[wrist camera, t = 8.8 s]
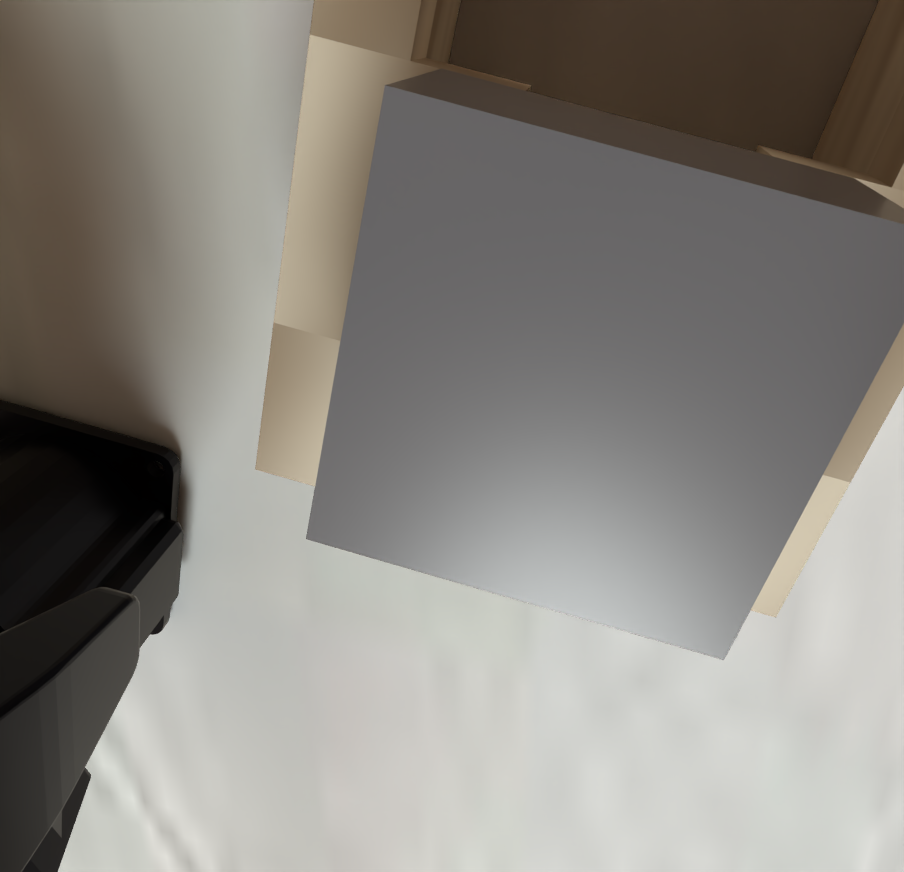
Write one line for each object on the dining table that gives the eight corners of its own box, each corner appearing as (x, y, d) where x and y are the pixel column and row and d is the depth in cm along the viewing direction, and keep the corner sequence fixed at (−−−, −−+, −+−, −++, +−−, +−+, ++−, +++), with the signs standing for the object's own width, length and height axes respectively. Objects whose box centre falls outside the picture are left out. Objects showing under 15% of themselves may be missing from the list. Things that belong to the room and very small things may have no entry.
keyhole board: (338, 361, 20) (255, 469, 15) (498, -574, 12) (433, -957, 8) (732, 470, 20) (775, 617, 15) (1146, -424, 12) (1518, -726, 7)
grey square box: (413, 350, 18) (306, 538, 11) (477, 57, 15) (384, 85, 8) (677, 424, 18) (723, 660, 11) (794, 142, 15) (950, 236, 8)
